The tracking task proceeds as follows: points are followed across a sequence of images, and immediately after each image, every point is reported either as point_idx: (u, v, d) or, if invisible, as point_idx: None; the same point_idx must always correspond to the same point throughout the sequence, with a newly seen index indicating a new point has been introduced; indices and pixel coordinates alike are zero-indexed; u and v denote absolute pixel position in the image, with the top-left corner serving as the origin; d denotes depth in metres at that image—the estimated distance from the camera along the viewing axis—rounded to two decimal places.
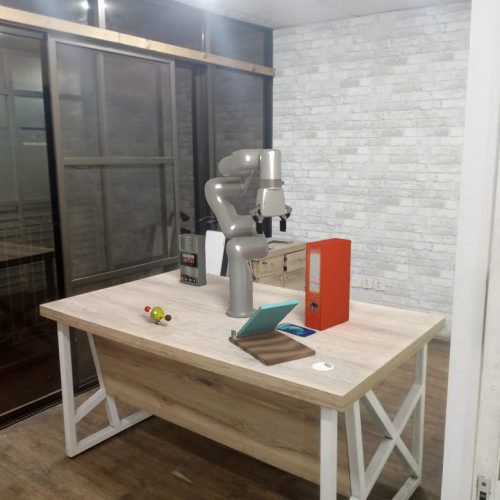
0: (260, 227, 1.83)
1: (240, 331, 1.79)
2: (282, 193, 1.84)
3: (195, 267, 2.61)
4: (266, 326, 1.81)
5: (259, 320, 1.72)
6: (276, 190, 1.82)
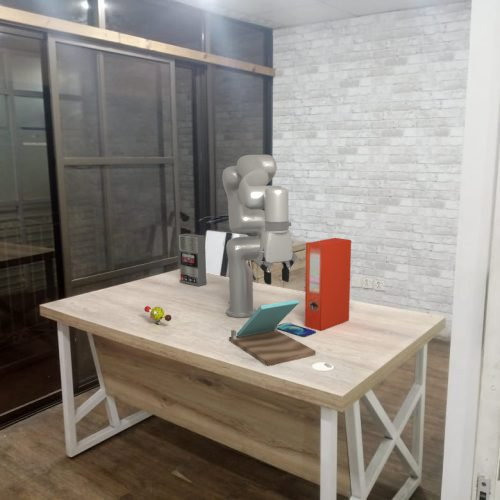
0: (268, 277, 1.65)
1: (240, 331, 1.79)
2: (289, 236, 1.65)
3: (195, 267, 2.61)
4: (266, 326, 1.81)
5: (259, 320, 1.72)
6: (282, 233, 1.63)
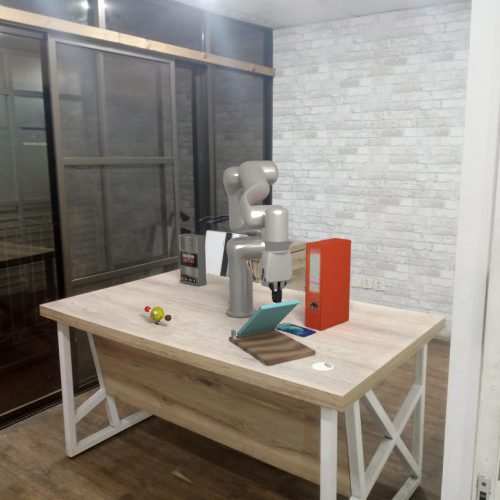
0: (276, 296, 1.67)
1: (240, 331, 1.79)
2: (289, 256, 1.66)
3: (195, 267, 2.61)
4: (266, 326, 1.81)
5: (259, 320, 1.72)
6: (282, 253, 1.64)
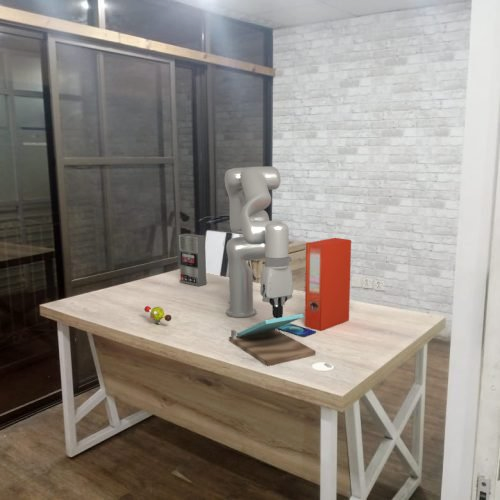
0: (277, 311, 1.67)
1: (241, 333, 1.78)
2: (289, 271, 1.67)
3: (195, 267, 2.61)
4: (267, 329, 1.81)
5: (261, 328, 1.72)
6: (283, 269, 1.65)
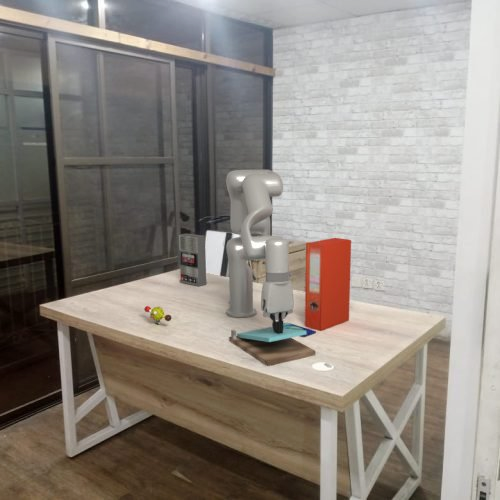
0: (278, 326, 1.68)
1: (241, 336, 1.78)
2: (290, 286, 1.67)
3: (195, 267, 2.61)
4: None
5: None
6: (283, 284, 1.65)
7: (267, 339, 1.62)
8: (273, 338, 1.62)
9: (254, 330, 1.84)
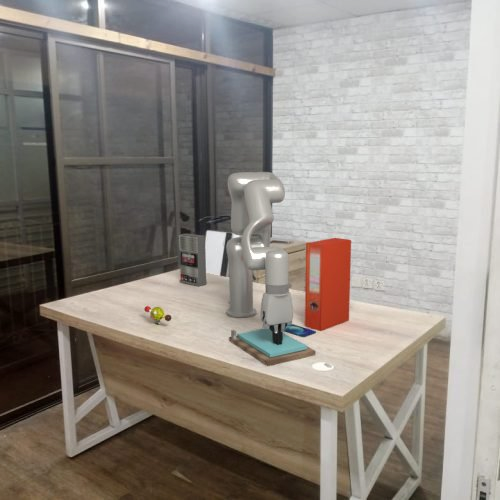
0: (277, 338, 1.69)
1: (241, 338, 1.78)
2: (289, 298, 1.68)
3: (195, 267, 2.61)
4: None
5: None
6: (283, 296, 1.66)
7: (268, 354, 1.63)
8: (274, 353, 1.63)
9: (254, 330, 1.84)
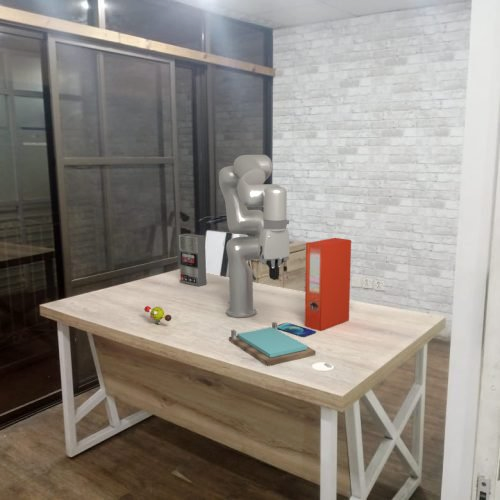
0: (273, 273, 1.73)
1: (241, 338, 1.78)
2: (287, 234, 1.71)
3: (195, 267, 2.61)
4: None
5: None
6: (280, 231, 1.70)
7: (268, 354, 1.63)
8: (274, 354, 1.63)
9: (254, 330, 1.84)
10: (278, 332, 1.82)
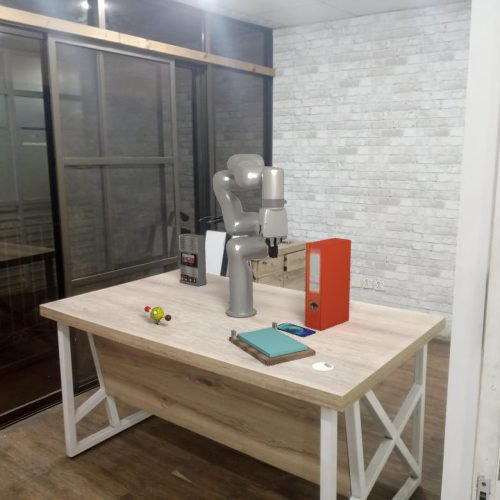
0: (272, 251, 1.78)
1: (241, 338, 1.78)
2: (284, 213, 1.77)
3: (195, 267, 2.61)
4: None
5: None
6: (278, 210, 1.75)
7: (268, 354, 1.63)
8: (274, 354, 1.63)
9: (254, 330, 1.84)
10: (278, 332, 1.82)
